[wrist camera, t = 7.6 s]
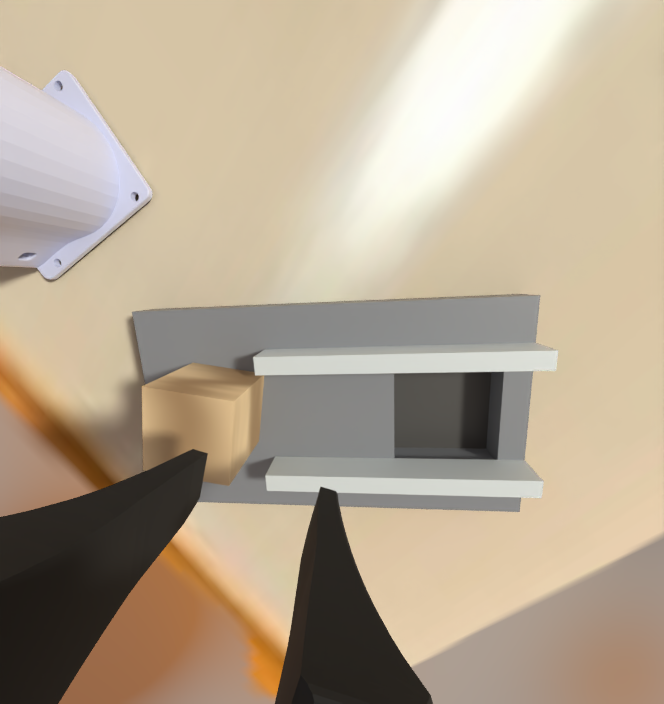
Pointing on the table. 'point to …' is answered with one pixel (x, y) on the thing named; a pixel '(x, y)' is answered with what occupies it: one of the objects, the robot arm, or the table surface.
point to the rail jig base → (372, 396)
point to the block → (203, 418)
